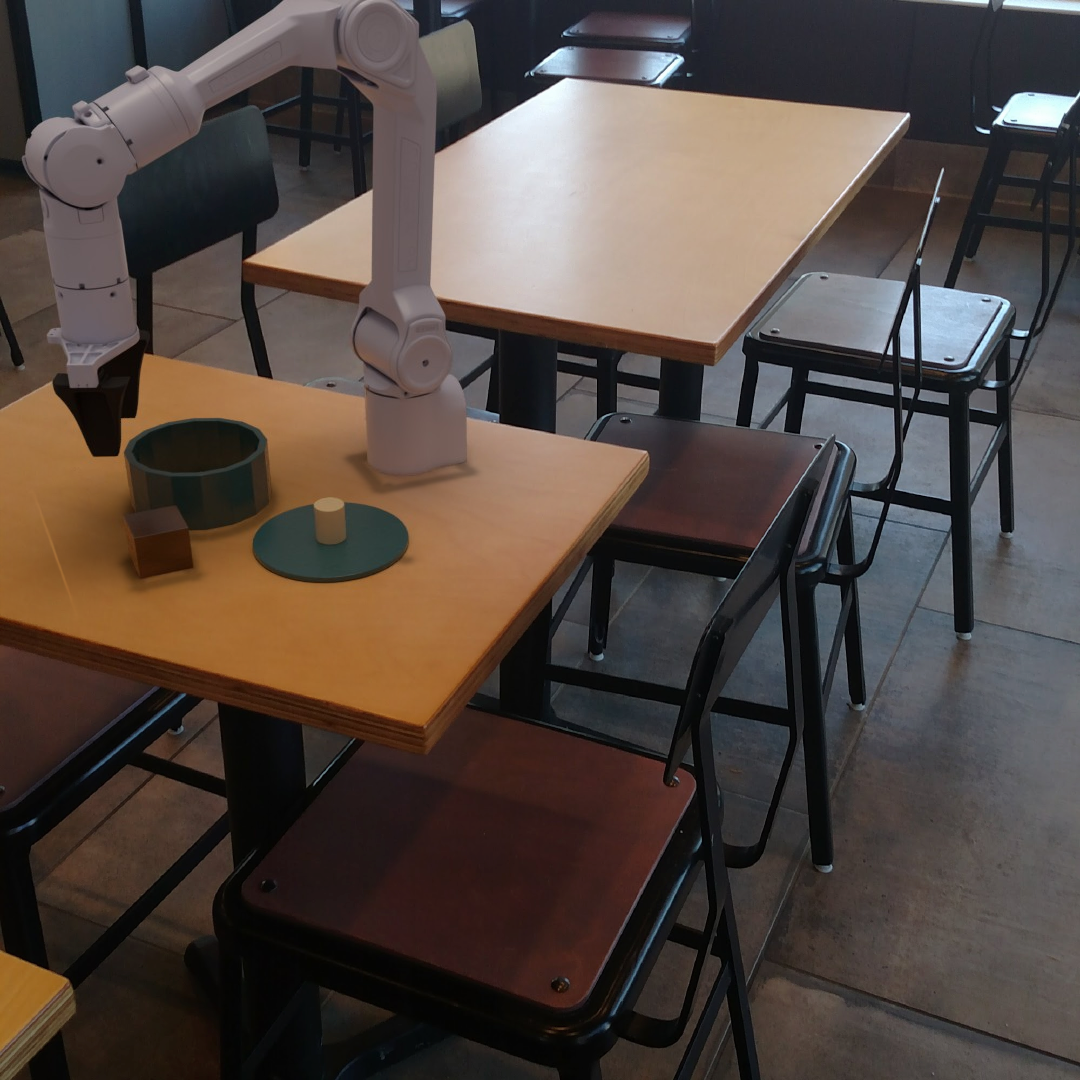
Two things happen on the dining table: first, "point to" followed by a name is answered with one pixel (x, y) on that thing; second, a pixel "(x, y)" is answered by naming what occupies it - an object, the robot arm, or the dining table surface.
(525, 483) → the dining table surface
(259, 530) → the cover
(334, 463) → the dining table surface
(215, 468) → the container
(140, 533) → the block
